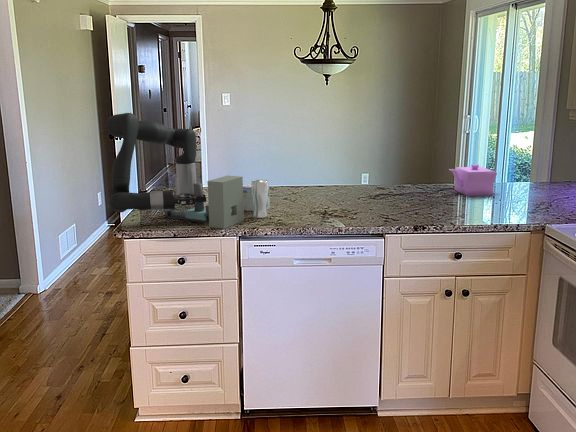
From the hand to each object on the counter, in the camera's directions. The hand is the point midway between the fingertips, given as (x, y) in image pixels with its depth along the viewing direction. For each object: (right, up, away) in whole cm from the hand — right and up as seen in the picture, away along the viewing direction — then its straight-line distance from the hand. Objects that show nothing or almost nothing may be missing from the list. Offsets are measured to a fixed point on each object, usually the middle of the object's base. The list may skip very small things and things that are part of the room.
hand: (205, 198), depth 225 cm
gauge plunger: (+7, -7, -4) cm, 11 cm away
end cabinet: (+9, -10, -4) cm, 14 cm away
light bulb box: (+19, -5, +19) cm, 27 cm away
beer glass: (+22, -8, +7) cm, 24 cm away
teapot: (+124, +4, +51) cm, 134 cm away
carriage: (-2, -8, +1) cm, 8 cm away
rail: (-5, -9, +3) cm, 11 cm away
